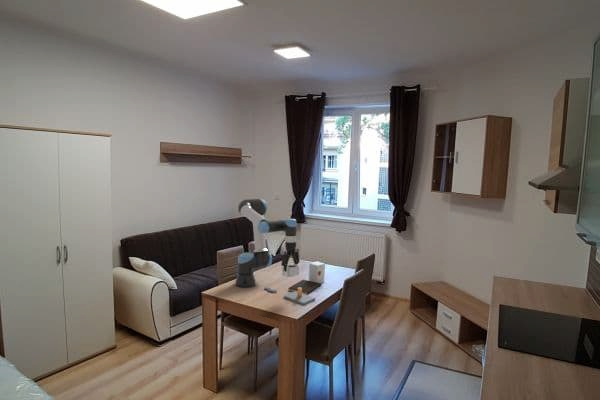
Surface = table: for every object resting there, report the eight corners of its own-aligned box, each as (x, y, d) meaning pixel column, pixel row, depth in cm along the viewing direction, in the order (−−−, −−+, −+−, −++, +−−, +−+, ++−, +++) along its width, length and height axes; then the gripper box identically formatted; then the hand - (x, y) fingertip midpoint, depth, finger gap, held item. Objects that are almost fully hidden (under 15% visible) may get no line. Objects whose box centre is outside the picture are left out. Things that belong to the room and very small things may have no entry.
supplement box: (316, 284, 263) (317, 265, 261) (308, 281, 269) (309, 262, 268) (324, 282, 269) (325, 263, 267) (316, 279, 275) (317, 261, 274)
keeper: (283, 297, 234) (284, 287, 233) (295, 293, 243) (295, 282, 242) (303, 305, 222) (304, 294, 222) (315, 300, 232) (315, 289, 231)
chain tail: (262, 289, 249) (262, 288, 249) (266, 288, 252) (266, 286, 252) (274, 293, 241) (274, 292, 241) (278, 292, 244) (278, 290, 244)
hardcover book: (287, 291, 248) (288, 288, 248) (302, 282, 268) (302, 279, 268) (307, 295, 241) (307, 292, 240) (321, 286, 261) (321, 283, 261)
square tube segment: (282, 274, 233) (282, 266, 232) (290, 272, 239) (290, 264, 238) (290, 277, 227) (290, 268, 227) (298, 274, 233) (298, 266, 233)
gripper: (283, 244, 221) (283, 278, 223) (305, 240, 237) (304, 272, 238) (275, 242, 226) (275, 276, 228) (297, 238, 242) (296, 270, 243)
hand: (290, 274), depth 233 cm, fingers closed on square tube segment, 8 cm apart
